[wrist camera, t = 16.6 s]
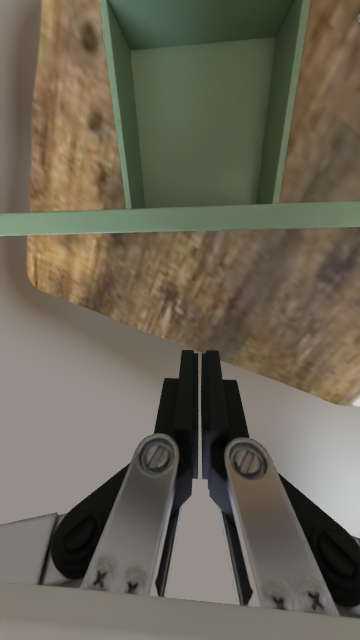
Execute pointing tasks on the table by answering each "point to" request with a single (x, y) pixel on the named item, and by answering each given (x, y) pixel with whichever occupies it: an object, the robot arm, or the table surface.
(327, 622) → the robot arm
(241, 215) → the box lid
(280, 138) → the box
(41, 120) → the table surface
